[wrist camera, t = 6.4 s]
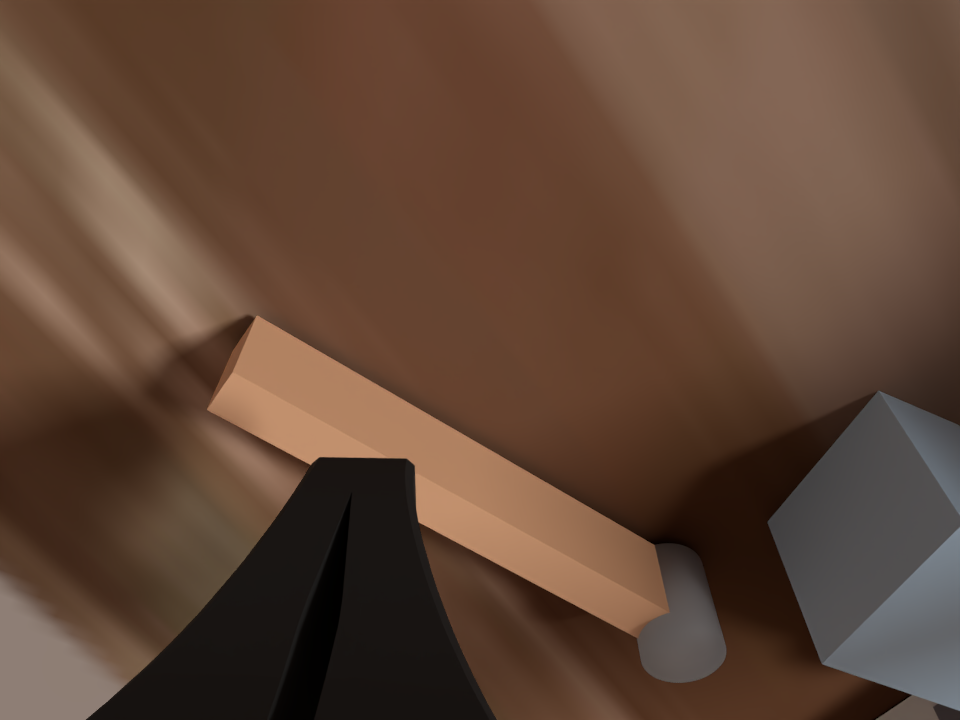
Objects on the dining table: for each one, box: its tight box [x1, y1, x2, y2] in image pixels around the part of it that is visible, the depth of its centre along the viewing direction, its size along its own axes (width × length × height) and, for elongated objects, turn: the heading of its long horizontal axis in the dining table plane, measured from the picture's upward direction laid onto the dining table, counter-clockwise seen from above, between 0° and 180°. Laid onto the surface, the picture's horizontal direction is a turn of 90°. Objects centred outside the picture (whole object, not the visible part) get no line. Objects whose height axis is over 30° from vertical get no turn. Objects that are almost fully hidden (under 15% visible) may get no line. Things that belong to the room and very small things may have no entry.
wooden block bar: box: [207, 316, 726, 683], centre depth 19 cm, size 12×2×2 cm, turn 54°
